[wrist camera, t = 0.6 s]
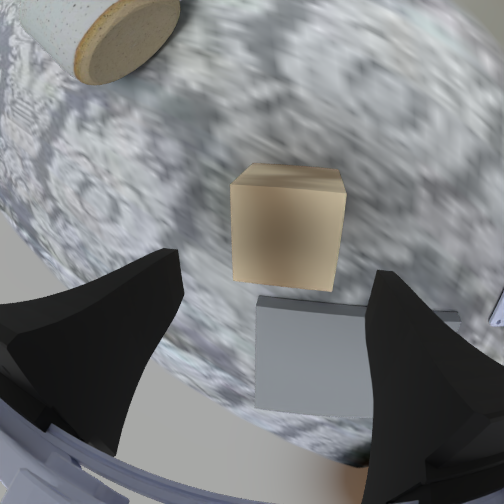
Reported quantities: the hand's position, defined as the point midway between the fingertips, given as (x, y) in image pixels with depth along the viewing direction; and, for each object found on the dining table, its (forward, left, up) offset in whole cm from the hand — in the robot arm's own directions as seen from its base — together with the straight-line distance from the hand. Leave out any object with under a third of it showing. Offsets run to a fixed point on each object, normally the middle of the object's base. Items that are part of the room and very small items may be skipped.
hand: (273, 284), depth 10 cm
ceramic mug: (+10, -14, -9) cm, 19 cm away
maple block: (0, 0, -8) cm, 8 cm away
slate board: (-6, +14, -8) cm, 17 cm away
